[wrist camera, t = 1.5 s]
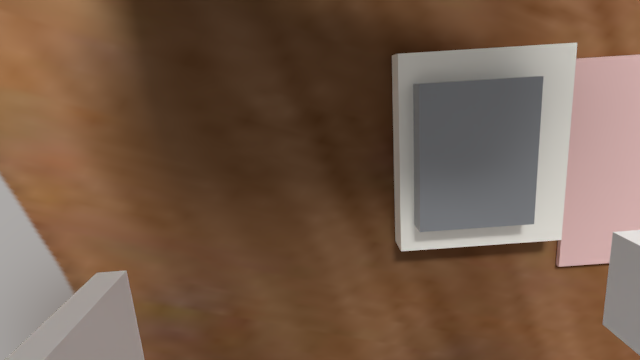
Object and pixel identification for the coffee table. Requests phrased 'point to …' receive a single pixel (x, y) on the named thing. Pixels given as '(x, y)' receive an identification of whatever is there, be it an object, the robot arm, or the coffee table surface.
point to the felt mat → (601, 159)
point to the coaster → (476, 152)
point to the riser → (553, 141)
